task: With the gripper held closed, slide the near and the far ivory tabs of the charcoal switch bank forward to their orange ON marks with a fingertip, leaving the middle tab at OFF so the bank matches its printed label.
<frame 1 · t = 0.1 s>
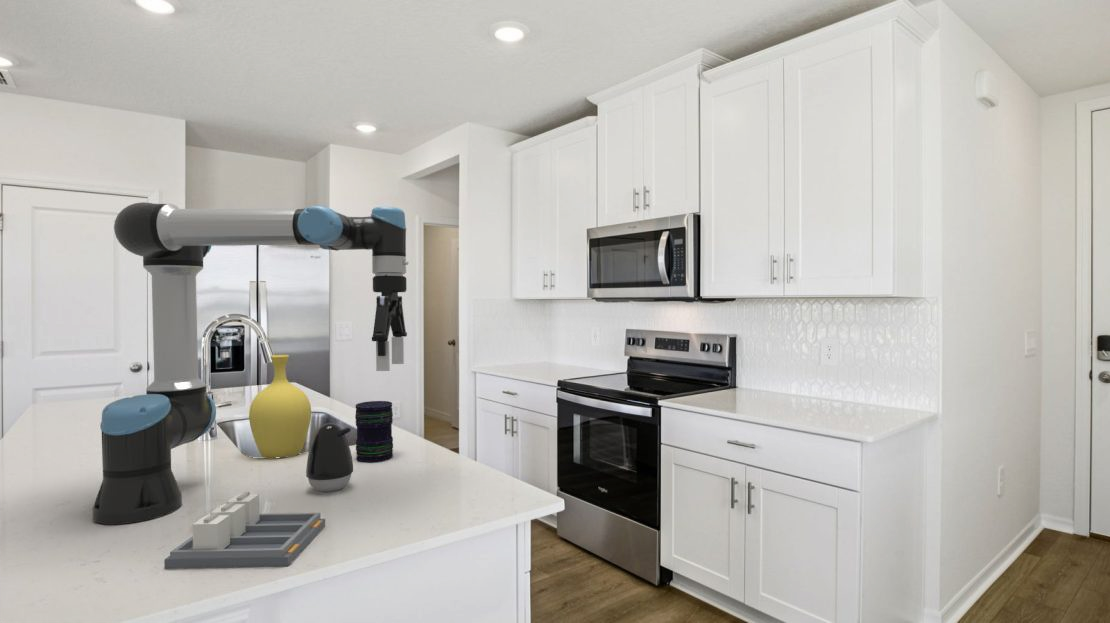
hand: (390, 367, 137), 28 cm above the counter, fingers open, 13 cm apart
vase: (281, 454, 169), on the counter
tab A: (211, 532, 100), point 5 cm above the counter, slide at -4.0 cm
tab C: (243, 509, 111), point 5 cm above the counter, slide at -4.0 cm
switch bank: (251, 545, 106), on the counter
pump dispenser: (330, 489, 137), on the counter
tab B: (228, 520, 105), point 5 cm above the counter, slide at -4.0 cm
storage jar: (374, 458, 163), on the counter
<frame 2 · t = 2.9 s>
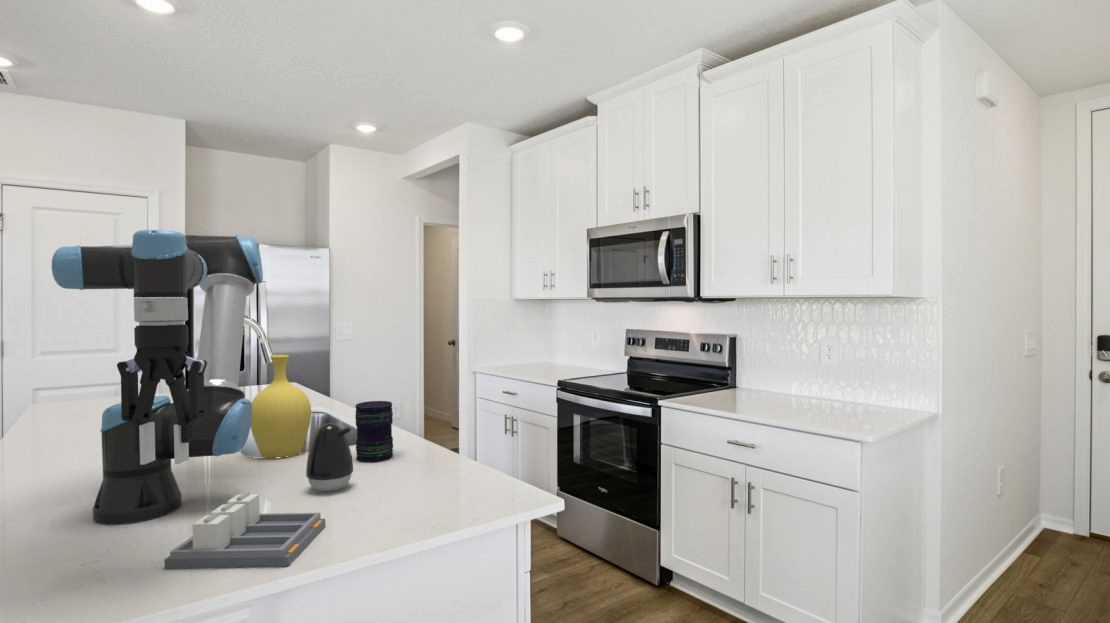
hand: (164, 461, 100), 17 cm above the counter, fingers open, 5 cm apart
nothing on the counter moved.
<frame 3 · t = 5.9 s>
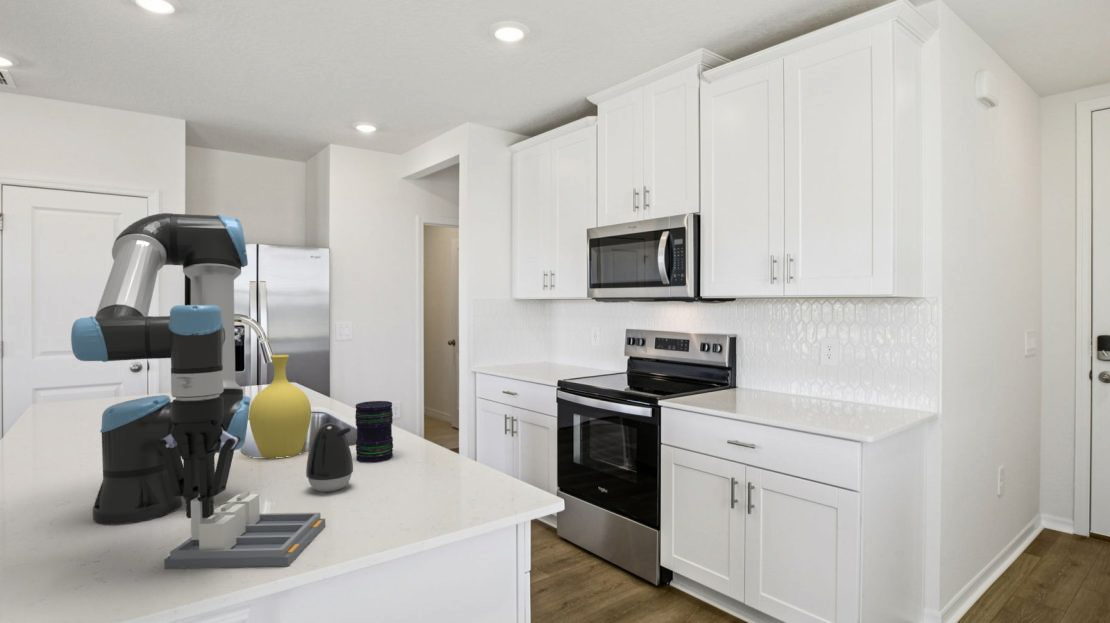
hand: (200, 536, 100), 4 cm above the counter, fingers closed
tab A: (217, 532, 100), point 5 cm above the counter, slide at -2.9 cm, touching gripper
everything else where it was.
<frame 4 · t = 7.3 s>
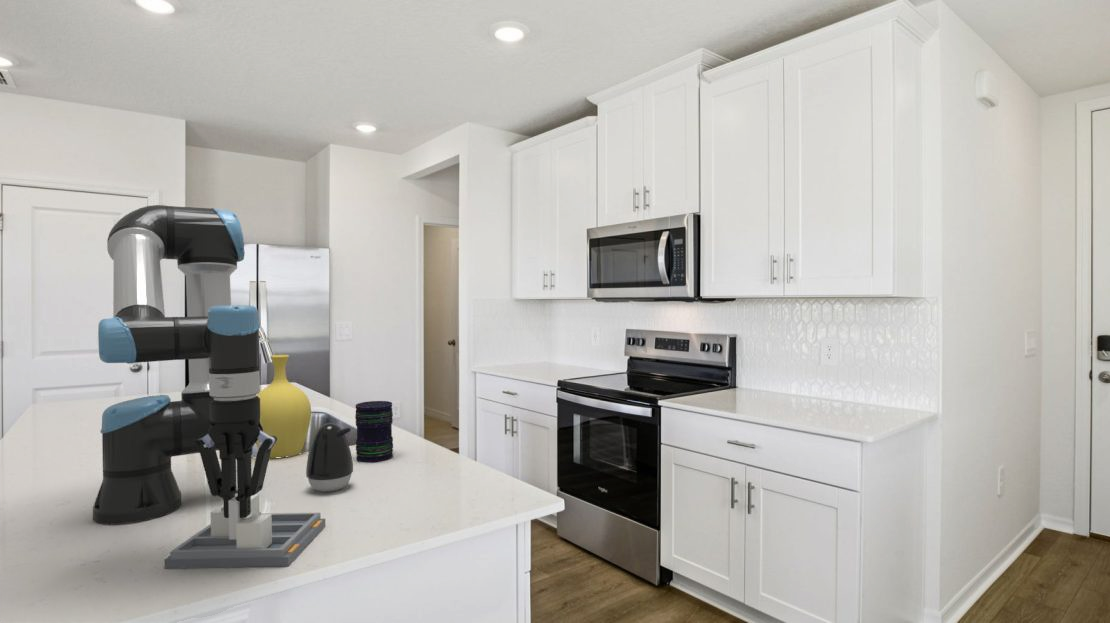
hand: (237, 535, 100), 4 cm above the counter, fingers closed
tab A: (254, 531, 100), point 5 cm above the counter, slide at 3.1 cm, touching gripper
everything else where it was.
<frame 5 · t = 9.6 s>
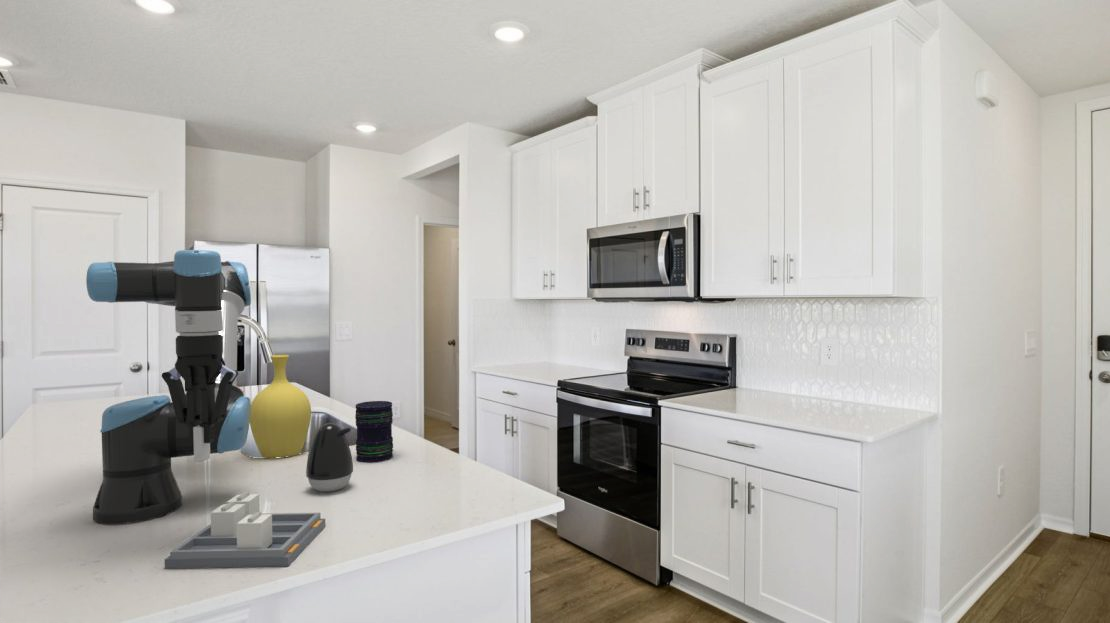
hand: (202, 460, 110), 14 cm above the counter, fingers closed
tab A: (254, 531, 100), point 5 cm above the counter, slide at 3.2 cm
everything else where it was.
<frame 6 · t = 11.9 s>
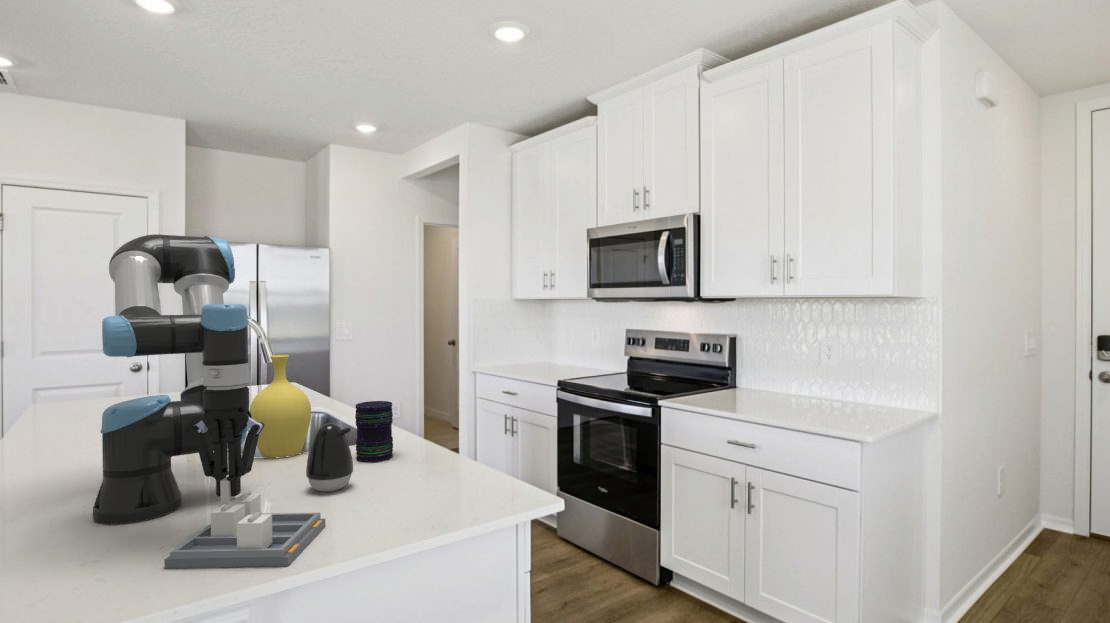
hand: (229, 512, 110), 4 cm above the counter, fingers closed
tab C: (244, 509, 111), point 5 cm above the counter, slide at -3.7 cm, touching gripper
everything else where it was.
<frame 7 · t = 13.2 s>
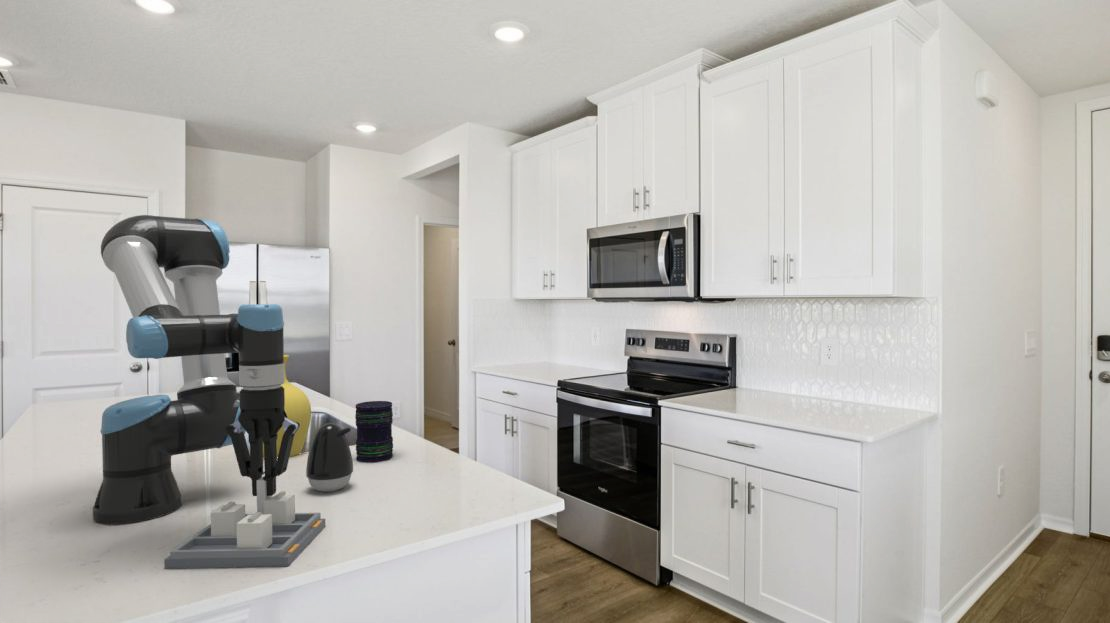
hand: (264, 512, 111), 4 cm above the counter, fingers closed
tab C: (279, 509, 111), point 5 cm above the counter, slide at 2.7 cm, touching gripper
everything else where it was.
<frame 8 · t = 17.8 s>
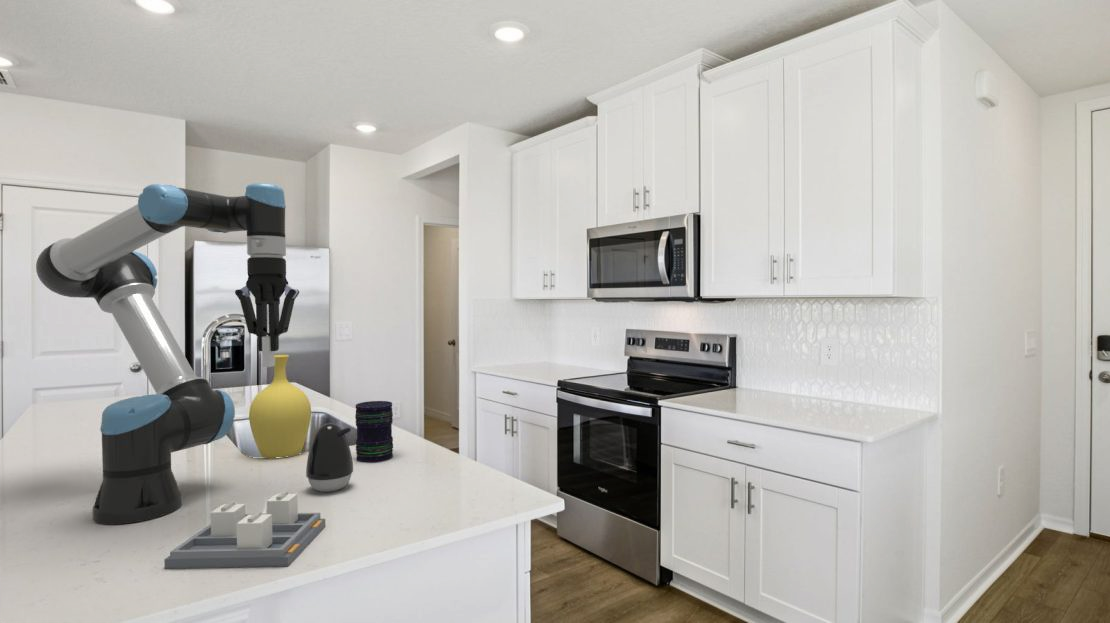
hand: (268, 366, 128), 29 cm above the counter, fingers closed
tab C: (282, 508, 111), point 5 cm above the counter, slide at 3.2 cm
everything else where it was.
at the end: tab A slide at 3.2 cm; tab C slide at 3.2 cm; tab B slide at -4.0 cm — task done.
